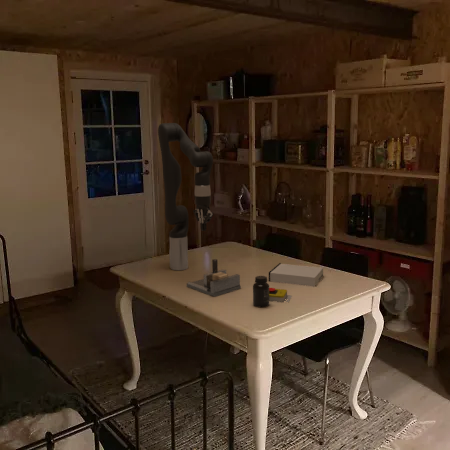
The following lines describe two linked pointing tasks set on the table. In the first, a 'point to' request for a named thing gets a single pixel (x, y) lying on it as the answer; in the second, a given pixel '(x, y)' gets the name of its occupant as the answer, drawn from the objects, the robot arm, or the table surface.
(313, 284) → the disc drive
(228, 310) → the table surface
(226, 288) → the press
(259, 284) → the supplement bottle
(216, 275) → the maple block
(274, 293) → the emergency button
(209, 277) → the jaw
